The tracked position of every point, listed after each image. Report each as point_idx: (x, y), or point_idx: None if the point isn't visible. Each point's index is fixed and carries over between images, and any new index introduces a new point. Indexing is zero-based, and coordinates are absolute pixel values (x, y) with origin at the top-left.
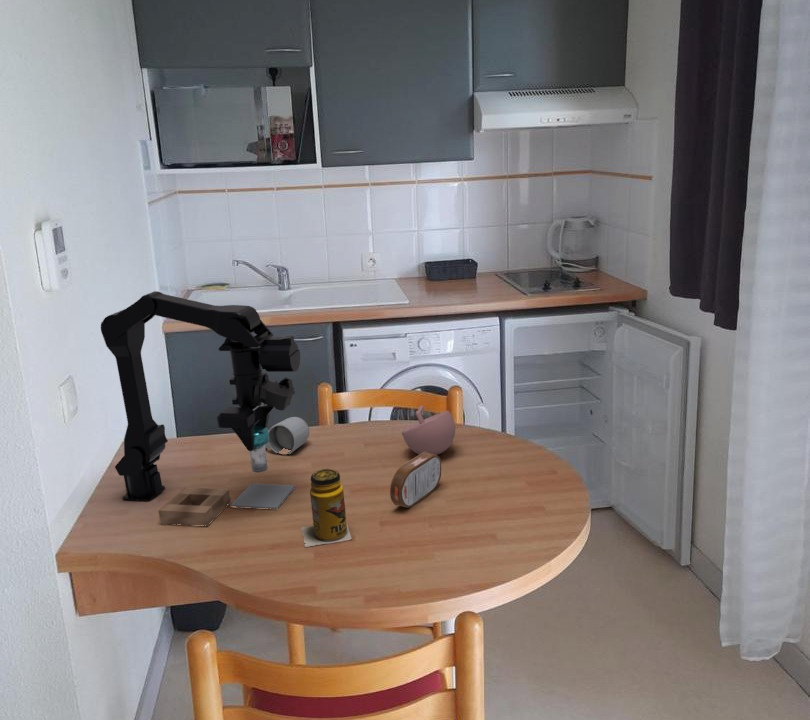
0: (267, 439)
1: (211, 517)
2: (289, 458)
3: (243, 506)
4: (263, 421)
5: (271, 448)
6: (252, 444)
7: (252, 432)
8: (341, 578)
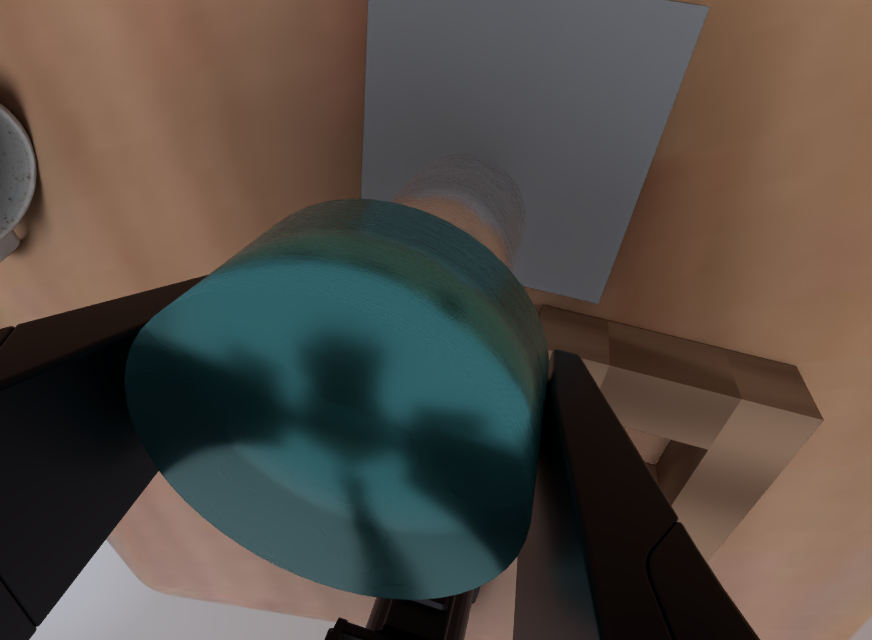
0: (396, 228)
1: (752, 370)
2: (47, 108)
3: (622, 237)
4: (38, 414)
5: (20, 219)
6: (613, 412)
7: (689, 609)
8: None
